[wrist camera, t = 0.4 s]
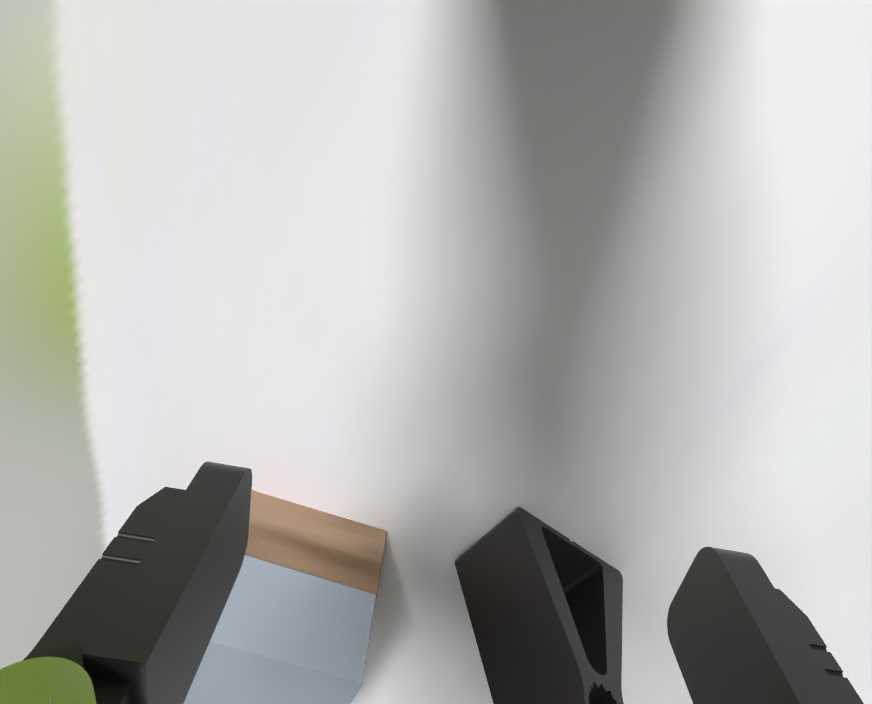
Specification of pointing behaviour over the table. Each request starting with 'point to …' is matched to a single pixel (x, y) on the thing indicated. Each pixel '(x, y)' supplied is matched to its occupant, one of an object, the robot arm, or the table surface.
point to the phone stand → (543, 615)
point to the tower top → (285, 641)
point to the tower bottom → (315, 542)
